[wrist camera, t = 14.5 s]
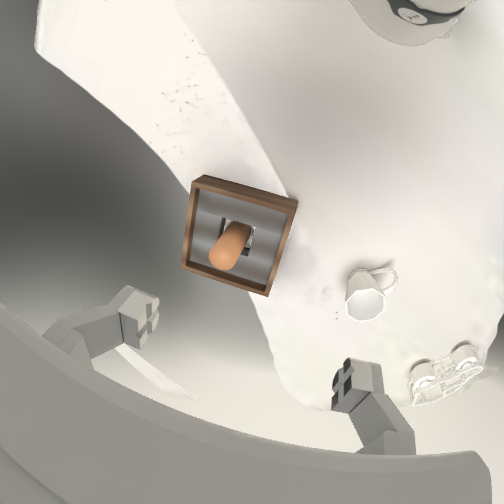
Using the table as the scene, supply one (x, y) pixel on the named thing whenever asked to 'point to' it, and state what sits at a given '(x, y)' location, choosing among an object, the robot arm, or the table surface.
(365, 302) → the cup
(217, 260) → the peg
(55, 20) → the table surface
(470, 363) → the skeletal toy car
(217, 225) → the box
